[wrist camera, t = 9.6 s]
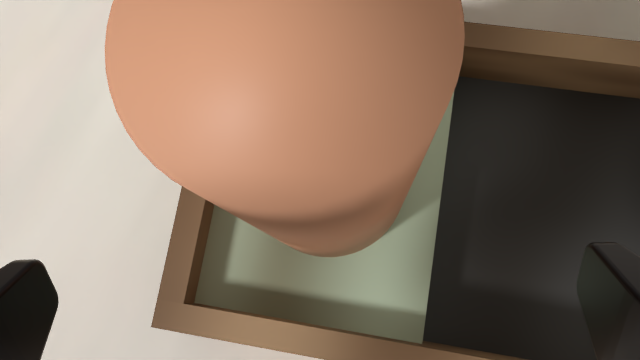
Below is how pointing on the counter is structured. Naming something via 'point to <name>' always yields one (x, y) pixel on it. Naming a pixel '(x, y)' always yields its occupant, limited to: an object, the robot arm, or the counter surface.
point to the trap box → (447, 224)
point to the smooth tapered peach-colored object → (288, 105)
